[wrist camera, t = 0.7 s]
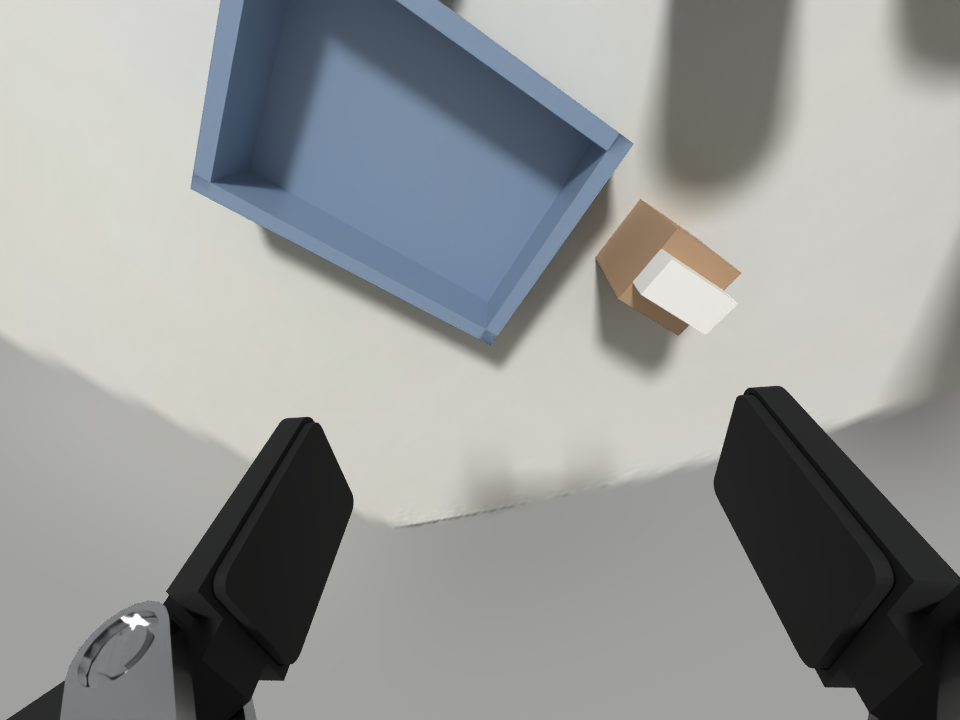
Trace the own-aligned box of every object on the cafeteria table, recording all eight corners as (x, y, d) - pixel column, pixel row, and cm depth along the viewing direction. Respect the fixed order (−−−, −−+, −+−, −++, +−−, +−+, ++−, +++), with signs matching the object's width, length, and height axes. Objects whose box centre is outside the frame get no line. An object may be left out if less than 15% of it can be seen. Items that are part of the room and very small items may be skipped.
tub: (611, 134, 27) (633, 143, 22) (492, 311, 34) (490, 345, 30) (298, -94, 22) (243, -143, 17) (239, 173, 29) (190, 188, 25)
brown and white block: (692, 235, 30) (757, 285, 23) (644, 288, 33) (688, 350, 25) (640, 198, 29) (690, 238, 21) (595, 257, 32) (625, 312, 24)
